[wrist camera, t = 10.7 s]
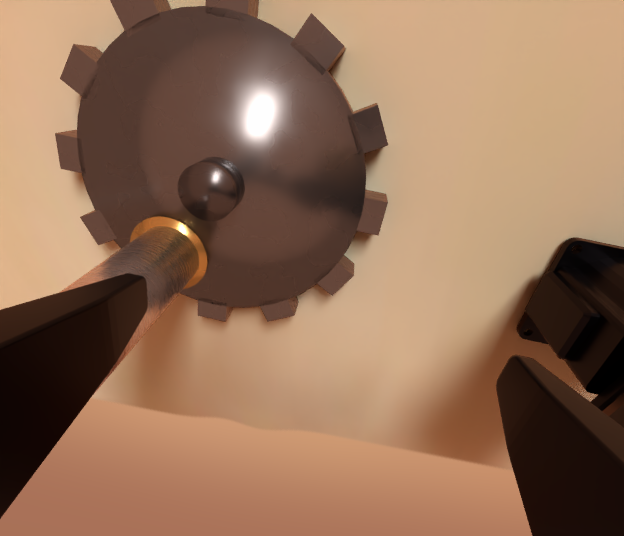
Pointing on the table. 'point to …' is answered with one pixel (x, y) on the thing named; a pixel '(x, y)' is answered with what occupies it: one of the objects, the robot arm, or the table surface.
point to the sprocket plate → (225, 149)
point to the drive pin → (150, 272)
